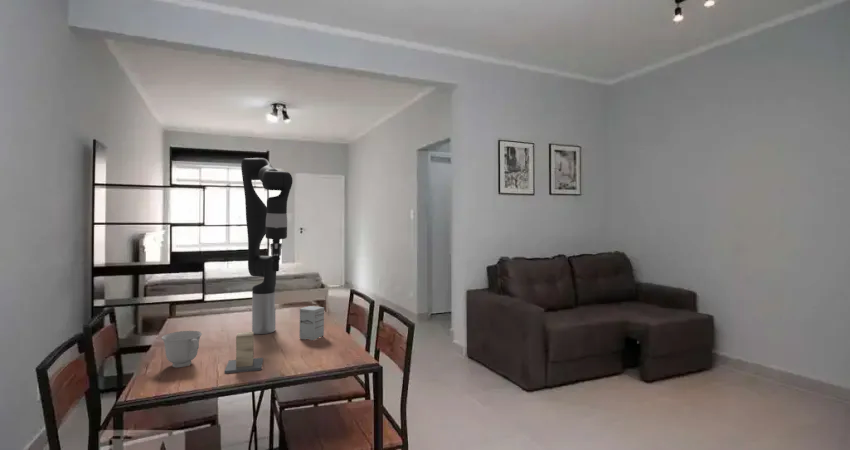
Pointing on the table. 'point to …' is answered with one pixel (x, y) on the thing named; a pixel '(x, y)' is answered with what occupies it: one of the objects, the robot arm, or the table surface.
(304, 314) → the supplement box
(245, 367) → the slate coaster
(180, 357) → the teacup
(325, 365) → the table surface
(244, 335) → the beech block
